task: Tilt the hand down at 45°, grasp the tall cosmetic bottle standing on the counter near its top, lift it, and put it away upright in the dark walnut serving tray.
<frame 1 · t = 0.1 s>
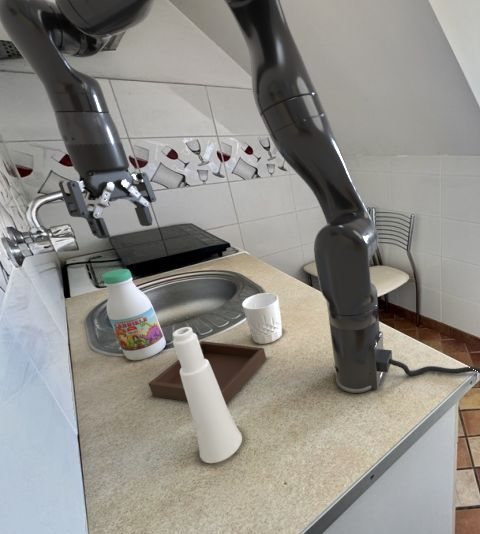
hand: (126, 231, 62), 29 cm above the counter, tool pointing down, fingers open, 8 cm apart
cosmetic bottle: (222, 447, 52), on the counter
tray: (213, 376, 67), on the counter
milk bottle: (147, 351, 75), on the counter
white cup: (268, 336, 80), on the counter
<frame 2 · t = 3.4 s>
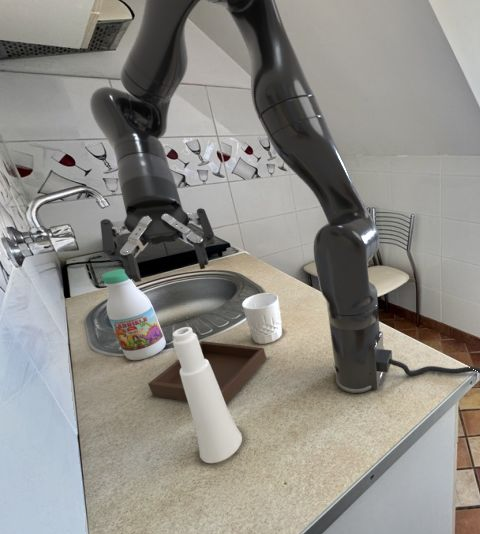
hand: (171, 273, 50), 26 cm above the counter, tool tilted 45°, fingers open, 8 cm apart
nothing on the counter moved.
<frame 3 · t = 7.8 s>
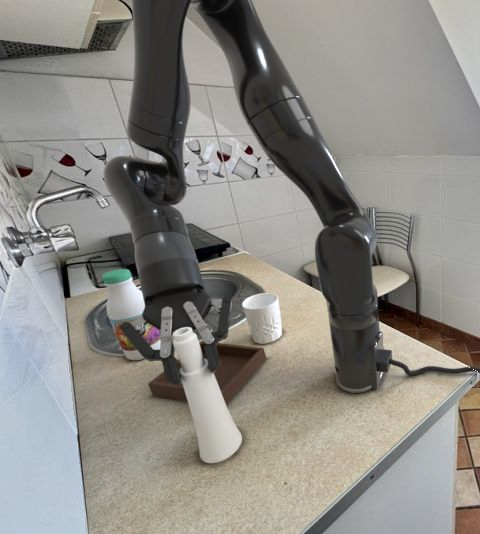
hand: (196, 377, 44), 16 cm above the counter, tool tilted 45°, fingers closed on cosmetic bottle, 3 cm apart
cosmetic bottle: (222, 447, 52), on the counter, touching gripper
everything else where it was.
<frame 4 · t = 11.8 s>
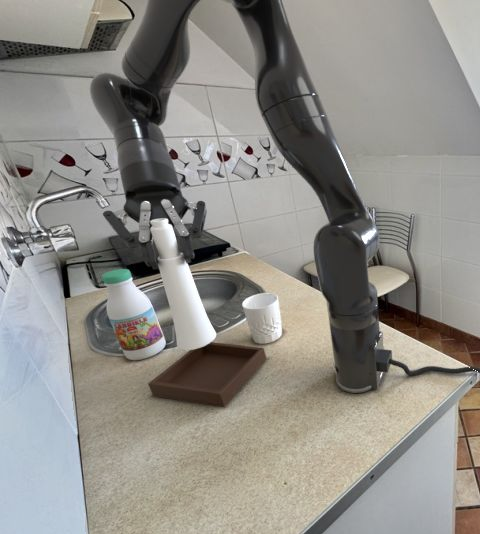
hand: (172, 263, 50), 28 cm above the counter, tool tilted 45°, fingers closed on cosmetic bottle, 3 cm apart
cosmetic bottle: (197, 341, 57), point 12 cm above the counter, touching gripper
everything else where it was.
when the fingers open (16 cm above the counter, at t = 16.1 s): cosmetic bottle stays where it is, resting on tray.
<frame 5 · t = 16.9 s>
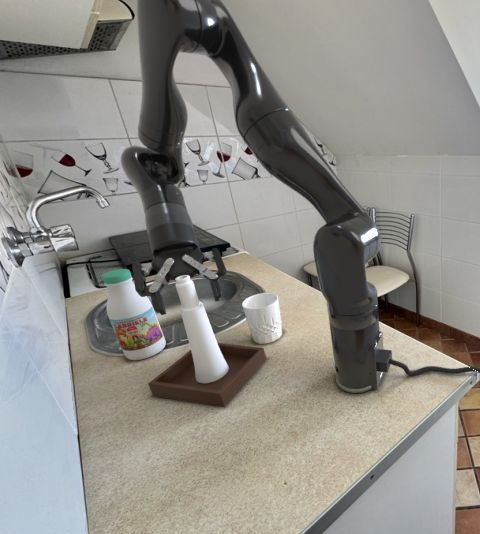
hand: (191, 306, 59), 17 cm above the counter, tool tilted 45°, fingers open, 8 cm apart
cosmetic bottle: (213, 374, 67), resting on tray
everything else where it was.
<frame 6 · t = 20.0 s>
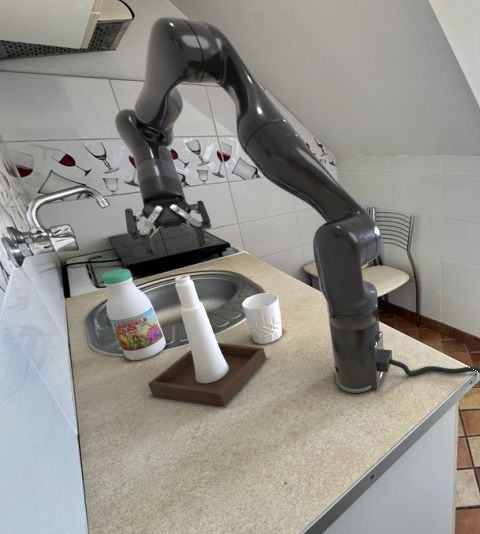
hand: (177, 249, 66), 25 cm above the counter, tool tilted 45°, fingers open, 8 cm apart
nothing on the counter moved.
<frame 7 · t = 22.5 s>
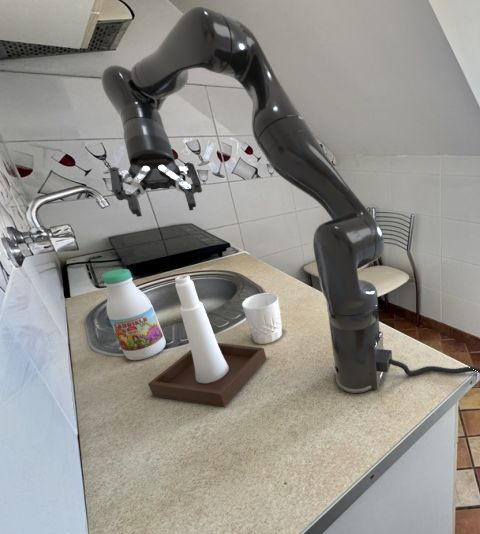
hand: (165, 211, 63), 33 cm above the counter, tool tilted 45°, fingers open, 8 cm apart
nothing on the counter moved.
at the end: cosmetic bottle inside the target area in the tray (0.3 cm from its centre), point 0.4 cm above the tray's base; cosmetic bottle tilted 0°; the gripper is holding nothing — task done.
